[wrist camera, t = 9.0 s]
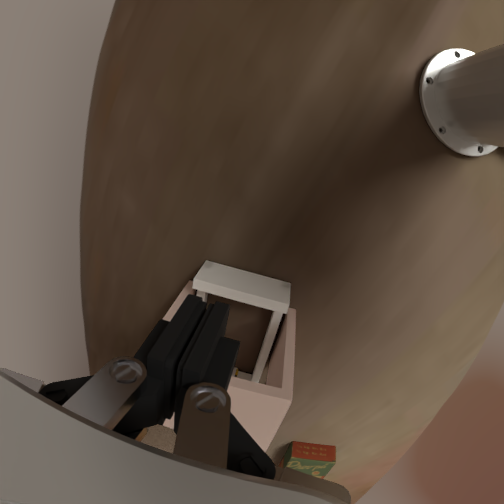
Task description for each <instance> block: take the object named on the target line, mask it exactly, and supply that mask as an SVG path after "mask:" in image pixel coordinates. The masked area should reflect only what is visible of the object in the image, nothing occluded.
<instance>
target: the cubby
mask: <svg viewBox="0 0 504 504" xmlns="http://www.w3.org/2000/svg"><path fill="white" fill-rule="evenodd" d="M192 286H193V281H191V280H189V281H188V283H187V284H186V286H185V287H184V289H183V290H182V292H181V293H180V294H179V296H178V297H177V299H176V300H175V302H174V303H173V305H172V306H171V307H170V309H169V310H168V312H167V313H166V315H165V316H164V318H163V320H166V321H171V319H172V318H173V316H174V315H175V313H176V312H177V310H178V309H179V307H180V306H181V304H182V303H183V301H184V300H185V298H186V297H187V295H188V294H192V295H195V291H196V289H193V288H192ZM295 331H296V309H293V308H288V311H287V314H286V315H285V318H284V321H283V324H282V327H281V330H280V333H279V336H278V338H277V341H276V344H275V347H274V350H273V352H272V355H271V358H270V361H269V367H268V374H267V381H266V385H264V384H260V383H256V382H252V381H248V380H244V379H241V378H237V377H233V376H231V380H230V383H229V386H228V389H227V392H228V394H229V396H230V398H231V411H230V412H231V413H232V414H233V415H234V416H235V418H236V419H237V420H238V421H239V423H240V424H241V425H242V426H243V427H244V429H245V430H246V431H247V432H248V433H249V435H250V436H251V437H252V438H253V439H254V440H255V442H256V443H257V444H258V445H259V446H260V447H261V449H262V450H263V451H264V452H266V451H267V449H268V447H269V445H270V443H271V441H272V439H273V438H274V436H275V434H276V432H277V430H278V428H279V426H280V424H281V422H282V420H283V418H284V417H285V415H286V413H287V411H288V409H289V407H290V405H291V403H292V399H293V380H294V358H295ZM163 426H166V427H168V428H171V429H174V414H173V416H172V418H171V419H170V420H169V419H165V422H164V424H163Z"/></svg>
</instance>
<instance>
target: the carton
mask: <svg viewBox="0 0 504 504" xmlns="http://www.w3.org/2000/svg"><path fill="white" fill-rule="evenodd" d="M335 462H336V446H329V445H320V444H311V443H303V442H296V441H293V442H291V444H290V446H289V448H288V450H287V452H286V454H285V455H284V457H283V459H282V461H281V462H280V464H279V466H278V467H281V468H284V469H285V467H289V468H291V469H294V470H297V471H300V472H303V473H306V474H309V475H312V476H315V477H318V478H321V479H323V478H324V477H325V476H326V474H327V473H328V472H329V471H330V469H331V468H332V467H333V466H334V464H335Z"/></svg>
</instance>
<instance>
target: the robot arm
mask: <svg viewBox="0 0 504 504" xmlns="http://www.w3.org/2000/svg"><path fill="white" fill-rule="evenodd" d="M426 80H428V83H427V82H426ZM419 94H420V103H421V107H422V111H423V114H424V116H425V119H426V121H427V123H428V125H429V127H430V128H431V130H432V132H433V133H434V134H435V135H436V137H437V138H438V139H439V140H440V141H441V142H442V143H443V144H444V145H446V146H447V147H448V148H450V149H451V150H453V151H455V152H457V153H460V154H462V155H467V156H483V155H487V154H489V153H491V152H493V151H494V150H495V149H496V148H498V147H504V44H502V45H499V46H496V47H493V48H490V49H487V50H484V51H481V52H479V53H476V54H475V53H473V52H471V51H469V50H465V49H460V48H452V49H447V50H444V51H442V52H440V53H438V54H436V55H435V56H433V57H432V58H431V59H430V60H429V61H428V63H427V64H426V66H425V68H424V70H423V72H422V75H421V79H420V87H419ZM439 128H440V129H441V132H439ZM206 305H207V303H206V302H204V301H203V298H202V297H199V296H196V295H192V294H188V295H187V297H186V298H185V300H184V301H183V303H182V304H181V306H180V307H179V309H178V310H177V312H176V313H175V315H174V316H173V318H172V319H171V321H166V320H163V319H161V320H160V321H159V322H158V323H157V325H156V326H155V327H154V329H153V330H152V332H151V333H150V334H149V336H148V337H147V339H146V340H145V342H144V343H143V344H142V346H141V347H140V349H139V350H138V352H137V353H136V354H135V356H134V357H127V356H123V357H117V358H114V359H112V360H111V361H109V362H108V363H107V364H106V365H105V366H104V367H102V368H101V369H100V370H99V371H98V372H97V373H96V374H95V375H92V376H87V377H82V378H76V379H71V380H65V381H59V382H53V383H50V384H48V385H45V384H44V382H43V381H41V380H37V379H34V378H31V377H28V376H25V375H22V374H19V373H16V372H13V371H11V370H8V369H4V368H0V504H350V503H351V496H350V494H349V491H348V490H347V489H346V488H345V487H344V486H342V485H339V484H337V483H334V482H331V481H327V480H324V479H321V478H318V477H315V476H312V475H309V474H306V473H303V472H300V471H297V470H294V469H291V468H289V467H285V469H284V468H281V467H278V466H276V465H274V463H273V462H272V460H271V459H270V458H269V456H268V455H267V454H266V453H265V452H264V451H263V450H262V449H261V447H260V446H259V445H258V444H257V443H256V442H255V440H254V439H253V438H252V437H251V436H250V435H249V433H248V432H247V431H246V430H245V429H244V427H243V426H242V425H241V424H240V423H239V421H238V420H237V419H236V418H235V416H234V415H233V414H232V413H231V412H230V411H231V398H230V396H229V394H228V392H227V389H228V386H229V383H230V380H231V376H232V373H233V369H234V366H235V362H236V358H237V354H238V350H239V345H240V341H237V340H233V339H229V338H225V337H224V335H225V330H226V325H227V320H228V315H229V310H230V305H229V304H225V303H221V302H218V301H216V303H215V304H211V303H210V305H209V306H208V308H207V310H206ZM173 414H174V432H175V433H176V435H177V437H176V441H175V446H174V451H173V454H172V453H169V452H166V451H163V450H160V449H158V448H155V447H152V446H149V445H147V444H144V443H141V440H142V439H143V438H144V436H145V435H146V434H147V432H148V430H149V427H150V426H154V425H157V424H159V425H162V426H163V424H164V422H165V419H169V420H170V419H171V418H172V416H173Z"/></svg>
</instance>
